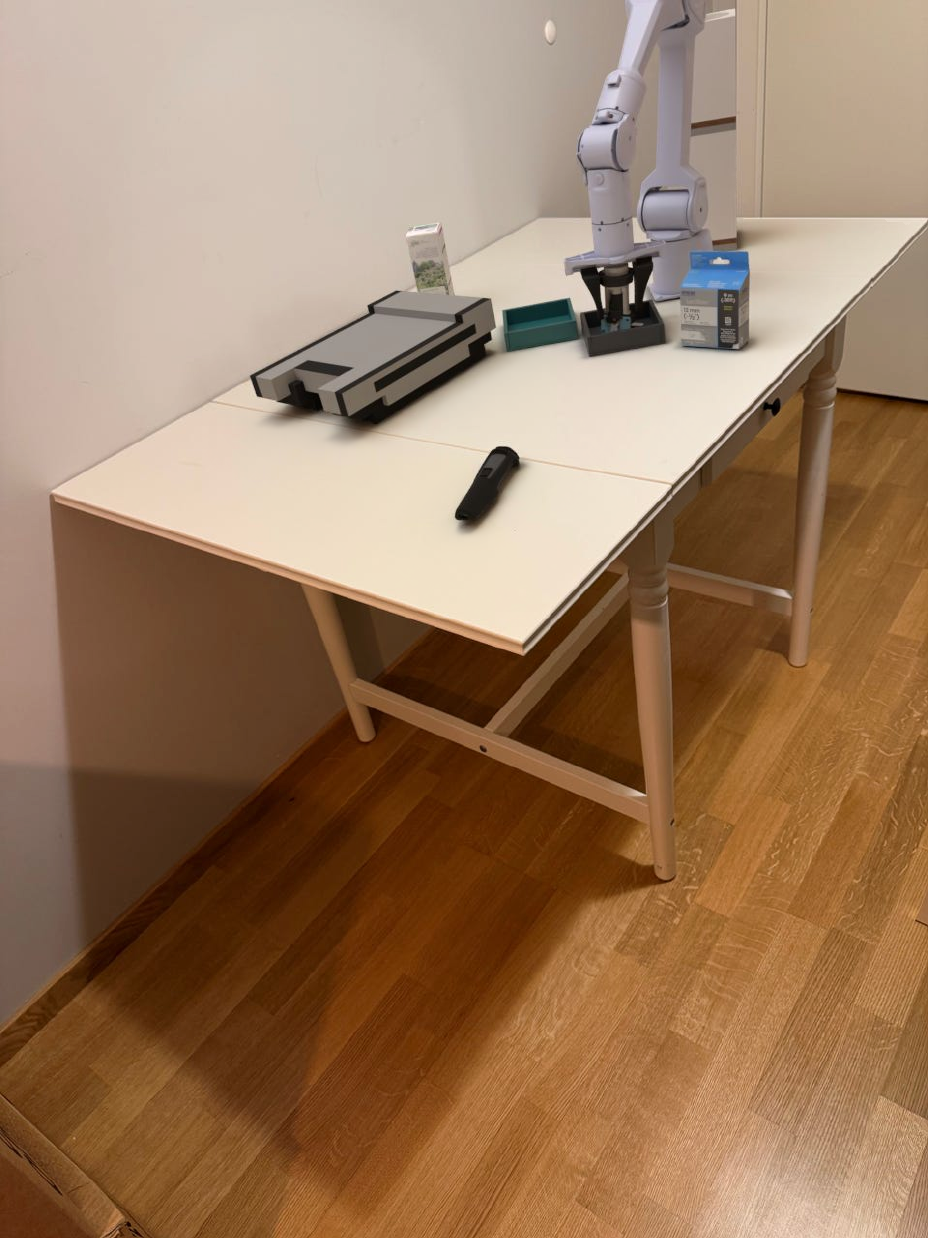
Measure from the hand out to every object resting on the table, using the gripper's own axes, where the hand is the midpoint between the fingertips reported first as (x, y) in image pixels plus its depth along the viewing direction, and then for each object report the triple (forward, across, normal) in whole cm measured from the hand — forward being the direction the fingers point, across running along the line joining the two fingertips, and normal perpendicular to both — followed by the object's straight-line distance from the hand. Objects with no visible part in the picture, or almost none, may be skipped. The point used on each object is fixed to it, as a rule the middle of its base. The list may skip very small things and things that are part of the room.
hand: (619, 314), depth 135 cm
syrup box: (+4, -29, +28) cm, 40 cm away
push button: (+3, 0, 0) cm, 3 cm away
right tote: (+3, 0, 0) cm, 4 cm away
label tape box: (+4, +12, -9) cm, 15 cm away
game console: (+4, -37, -2) cm, 37 cm away
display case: (+3, +20, +38) cm, 43 cm away
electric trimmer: (+4, -21, -42) cm, 47 cm away
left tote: (+3, -12, +8) cm, 15 cm away
